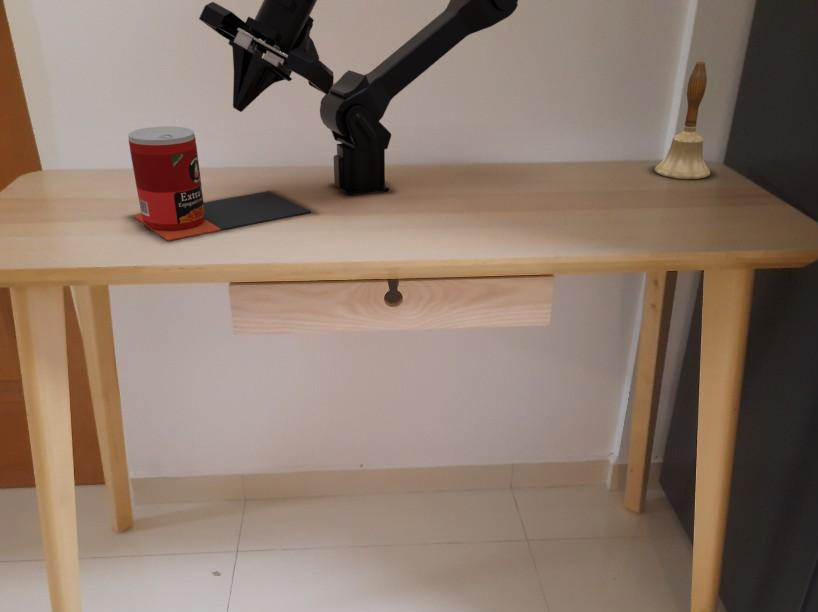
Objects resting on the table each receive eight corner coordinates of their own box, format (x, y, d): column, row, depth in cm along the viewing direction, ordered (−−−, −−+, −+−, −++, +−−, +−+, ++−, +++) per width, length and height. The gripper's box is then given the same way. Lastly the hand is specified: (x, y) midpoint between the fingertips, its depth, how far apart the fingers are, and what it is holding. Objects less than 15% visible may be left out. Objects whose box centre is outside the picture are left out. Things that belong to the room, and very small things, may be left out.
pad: (183, 207, 105) (183, 206, 105) (221, 230, 97) (221, 228, 97) (132, 216, 102) (132, 215, 101) (167, 241, 93) (167, 239, 93)
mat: (269, 192, 112) (269, 191, 111) (311, 212, 103) (311, 211, 103) (183, 207, 105) (183, 206, 105) (221, 230, 97) (221, 228, 97)
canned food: (190, 233, 95) (177, 140, 89) (131, 229, 97) (114, 137, 91) (216, 215, 101) (205, 127, 96) (159, 211, 103) (146, 124, 97)
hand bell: (682, 182, 117) (703, 67, 108) (643, 169, 123) (660, 60, 115) (721, 175, 120) (745, 63, 112) (681, 163, 126) (701, 57, 118)
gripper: (375, 51, 102) (319, 158, 106) (269, -5, 107) (219, 99, 111) (340, 14, 92) (279, 134, 95) (225, -46, 97) (171, 70, 100)
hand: (237, 109), depth 101 cm, fingers closed
